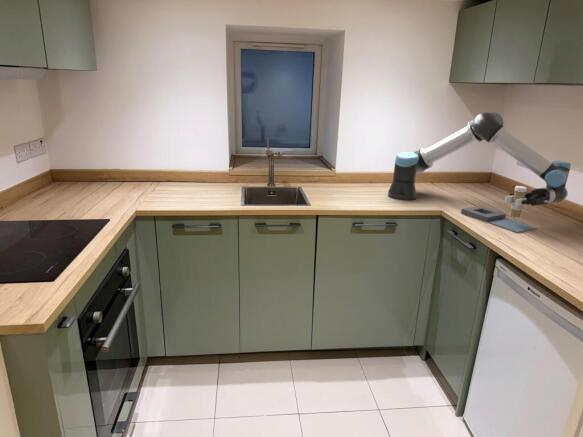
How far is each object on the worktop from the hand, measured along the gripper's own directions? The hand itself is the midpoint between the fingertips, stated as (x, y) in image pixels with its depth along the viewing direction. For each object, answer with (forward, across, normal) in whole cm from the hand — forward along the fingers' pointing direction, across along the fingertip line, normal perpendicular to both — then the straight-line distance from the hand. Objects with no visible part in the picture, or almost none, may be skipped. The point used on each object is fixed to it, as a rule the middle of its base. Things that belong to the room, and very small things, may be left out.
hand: (510, 201), depth 177 cm
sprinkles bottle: (-5, 0, -8) cm, 9 cm away
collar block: (-5, +15, -12) cm, 20 cm away
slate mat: (-5, 0, -12) cm, 13 cm away
